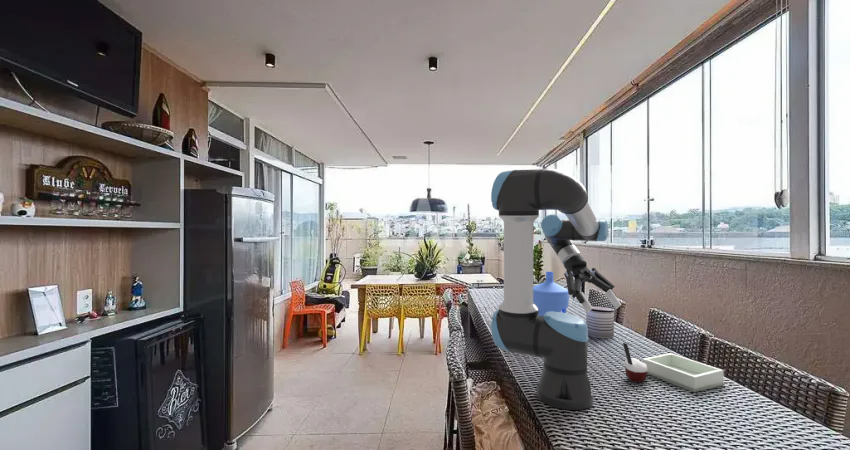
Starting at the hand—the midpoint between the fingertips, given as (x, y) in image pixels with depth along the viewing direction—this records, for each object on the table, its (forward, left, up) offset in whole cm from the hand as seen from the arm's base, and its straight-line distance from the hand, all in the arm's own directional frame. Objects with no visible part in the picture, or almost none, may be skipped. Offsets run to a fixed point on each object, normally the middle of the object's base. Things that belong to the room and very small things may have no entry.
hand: (604, 308), depth 141 cm
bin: (+15, -18, -20) cm, 30 cm away
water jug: (+5, +32, -20) cm, 38 cm away
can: (+30, +28, -20) cm, 46 cm away
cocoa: (0, -13, -20) cm, 24 cm away
